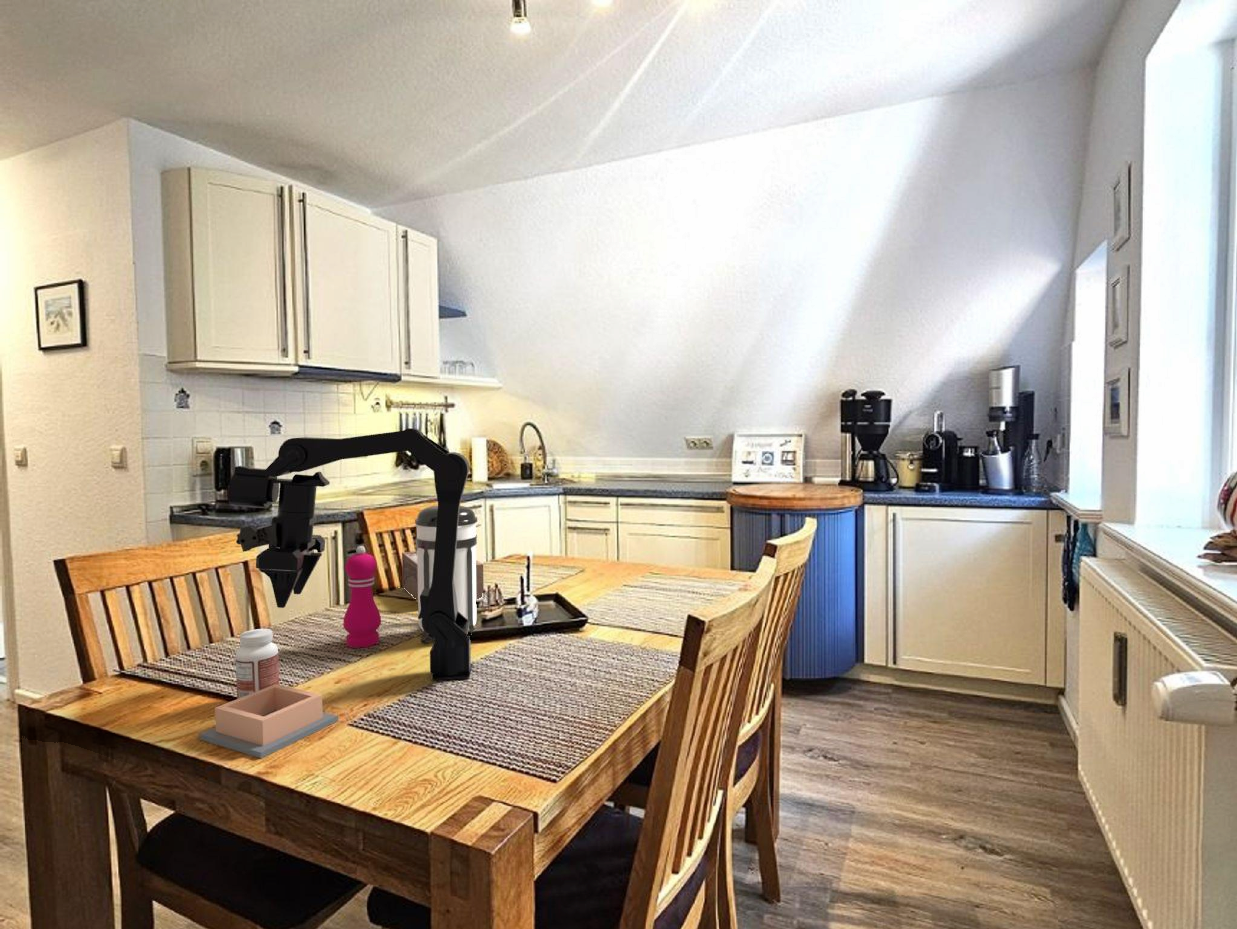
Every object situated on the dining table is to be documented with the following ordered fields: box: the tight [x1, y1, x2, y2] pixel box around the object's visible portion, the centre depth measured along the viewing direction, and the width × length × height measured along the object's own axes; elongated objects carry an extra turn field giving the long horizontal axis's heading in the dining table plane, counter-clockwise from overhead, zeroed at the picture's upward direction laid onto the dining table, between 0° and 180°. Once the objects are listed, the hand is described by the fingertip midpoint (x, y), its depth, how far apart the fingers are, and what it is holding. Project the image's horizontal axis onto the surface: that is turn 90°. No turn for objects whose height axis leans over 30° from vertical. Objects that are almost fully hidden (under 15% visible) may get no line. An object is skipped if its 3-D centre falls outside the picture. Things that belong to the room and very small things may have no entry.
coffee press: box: [414, 505, 478, 645], centre depth 148 cm, size 17×16×30 cm
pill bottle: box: [234, 628, 280, 699], centre depth 113 cm, size 6×6×11 cm
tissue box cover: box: [401, 550, 485, 601], centre depth 182 cm, size 26×14×10 cm, turn 29°
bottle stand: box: [198, 684, 339, 759], centre depth 102 cm, size 13×13×4 cm
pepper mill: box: [342, 545, 382, 649], centre depth 142 cm, size 7×7×20 cm
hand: (289, 600), depth 120 cm, fingers open, 9 cm apart
